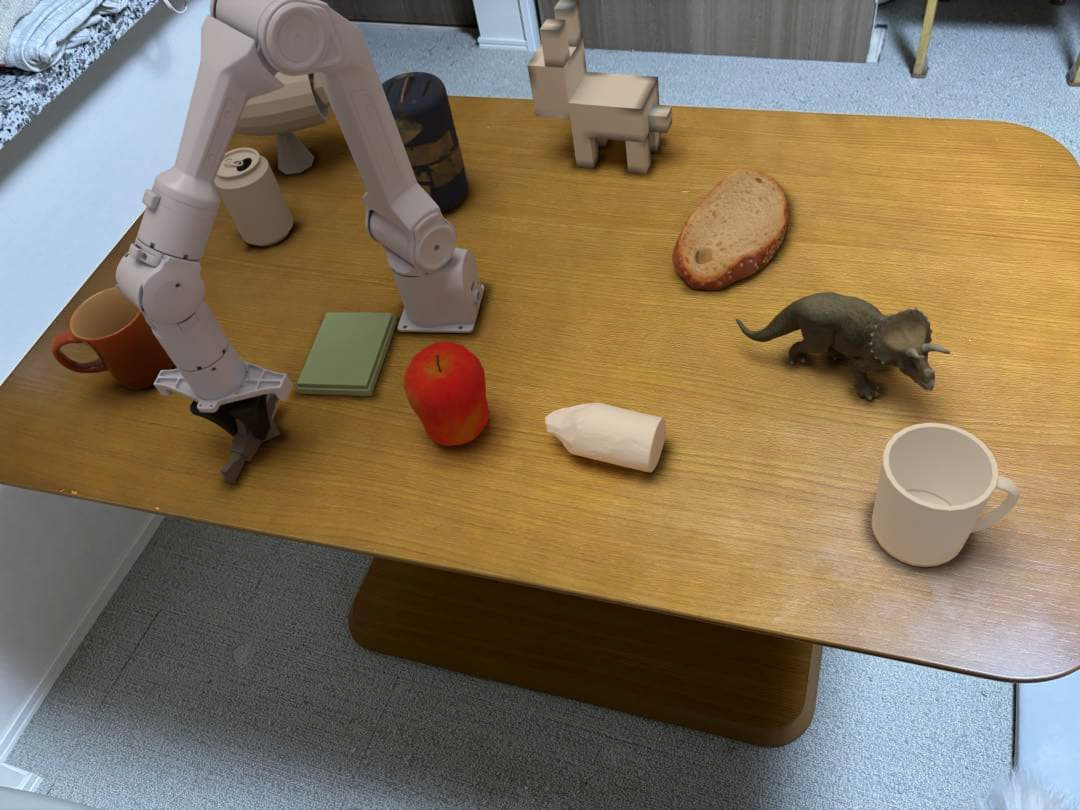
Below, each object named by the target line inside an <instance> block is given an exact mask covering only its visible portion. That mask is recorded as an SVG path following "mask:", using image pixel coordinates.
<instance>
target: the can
mask: <svg viewBox="0 0 1080 810" xmlns="http://www.w3.org/2000/svg"><path fill="white" fill-rule="evenodd" d="M214 184H215V186H216V189H217V191H218V193H219V195H220V198H221V201H223V204H224V205H225V208H226V209H227V211H228V213H229V215H230V217H231V219H232V221H233V223H234V225H235V227H236V229H237V231H238V233H239V235H240V237H241V238H242V240H243V241H244V242H246V243H247V244H249V245H255V246H259V247H267V246H272V245H275V244H277V243H279V242H281V241H282V240H284V239H285V238H286V237H287V236H288V234H290V230H292V228H293V225H294V223H295V221H294V216H293V214H292V212H291V210H290V208H289V205H288V203H287V201H286V198H285V196H284V194H283V192H282V190H281V187H280V185H279V183H278V180H277V178H276V176H275V173H274V172H273V170H272V167H271V165H270V162H269V161H268V159H267V158H266V157H265V156H263V155H261V154H260V153H259V151H258V150H256V149H254V148H252V147H237V148H234V149H231V150H229V151H226V153H225V155H224V158H223V160H222V162H221V165H220V167H219V170H218V172H217V174H216V177H215V179H214Z"/></svg>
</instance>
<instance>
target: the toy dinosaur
mask: <svg viewBox="0 0 1080 810" xmlns="http://www.w3.org/2000/svg"><path fill="white" fill-rule="evenodd" d="M735 322H736V324H737V325H738V327H739V329H740V331H741V332H742V333H743V335H744V336H746V337H747V338H749V339H750V340H752V341H754V342H759V343H766V342H767V343H768V342H771V341H773V340H774V339H778V338H780V337H784V336H787V335H789V334H791V333H794V332H797V331H799V330H800V333H801V337H802V339H801V341H800V340H799V341H796V342H795V343H793V344H792V345H791V346H790V348H789V349H788V362H789V364H790V365H791V366H794V365H795V363H796V362H799V363H803V364H805V363H806V362H807V361H806V358H805V357H807V356H808V357H809V355H810V354H811V355H822V354H824V353H825V352H826V354H827V356H828V357H829V358H831V359H833V360H834V361H836V360H837V359H843V360H845V359H846V360H847V359H848V358H852V359H853V362H851V363H850V364H849V365H848V371H849V372H850V373H851V375H852V376H853V378H854V380H855V381H856V383H857V385H858V387H857V390H856V394H858V396H859V398H863V397H865V399H867V400H868V401H871V400H873V397H875V398H877V397H879V396H880V393H879V392H878V390H880V387H879V386H877V385H875V384H874V383H871V381H870V378H869V375H868V373H873V372H875V371H878V370H879V371H880V370H882V369H885V368H886V367H887V366H893V367H895V368H897V369H898V370H899V372H900V373H901V374H903V375H905V376H906V377H909V378H910V379H911V380H912V381H913V383H914V384H917V385H918V386H919V387H920V388H921V389H923V390H924V391H926V392H928V391H929V392H932V391H933V390H934V388H935V384H936V382H935V381H936V373H935V370H934V369H933V368H932V367H931V366H930V364H929V353H931V352H935V353H942V354H945V355H950V354H952V352H951V350H949V349H947V348H945V347H944V346H942V345H940V344H937V343H933V342H932V341H933V339H932V333H933V329H932V328H931V322H930V321H928V315H925V314H924V311H923V310H918V308H917V307H915V308H913V309H912V308H910V307H908V308H906V309H905V310H899V311H898V312H897V313H889V314H888V315H887V314H883V313H882V312H881V310H879V309H878V308H877V307H876V306H875V305H873V304H872V303H870V302H868V301H866V300H865V299H862V298H859V297H856V296H849V295H844V294H840V293H837V292H832V291H824V292H823V291H822V292H817V293H813V294H810V295H806V296H803V297H802V298H799V299H796V300H794V301H792V302H791V303H790V304H788V305H786V307H784V308H783V309H782V310H780V311H779V312H778V313H777V314H776V315H775V316H774V317H773V318H772V319H771V321H770V322H769V323H768V324H767V325H766V326H765V327H763V328H762V329H760V330H759V329H758V330H750V329H749V328H748V327H747V326H746V325H745V324H744V323H743V321H742V320H740V319H739V318H735Z"/></svg>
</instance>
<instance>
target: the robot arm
mask: <svg viewBox="0 0 1080 810" xmlns="http://www.w3.org/2000/svg"><path fill="white" fill-rule="evenodd" d="M278 72H280V73H282V74H285V75H289V76H300V75H307V74H312V73H317V74H318V76H319V79H320V81H321V83H322V86H323V88H324V90H325V93H326V95H327V97H328V100H329V102H330V108H331V109H332V112H333V114H334V117H335V119H336V121H337V123H338V125H339V128H340V130H341V133H342V136H343V137H344V140H345V142H346V144H347V147H348V149H349V151H350V155H351V156H352V159H353V162H354V163H355V165H356V168H357V171H358V173H359V176H360V178H361V180H362V182H363V185H364V187H365V190H366V191H365V193H364V194H363V195H362V197H361V202H362V204H363V207H364V210H365V220H364V225H365V229H366V232H367V235H368V236H369V238H371V239H372V240H373V241H375V242H376V243H379V244H381V245H382V248H383V250H384V253H385V254H386V255H385V256H386V261H387V264H388V267H389V269H390V271H391V274H392V277H393V280H394V283H395V286H396V289H397V292H398V294H399V297H400V300H401V302H402V305H403V310H402V313H401V315H400V318H399V321H398V323H397V326H396V328H397V331H398V332H399V333H451V334H453V333H455V334H456V333H457V334H458V333H459V334H470V333H472V332H473V331H474V328H475V325H476V321H477V318H478V314H479V311H480V307H481V304H482V299H483V296H484V293H485V286H484V285H483V284H482V282H481V277H480V274H479V271H478V266H477V263H476V259H475V256H474V253H473V251H472V250H471V249H466V248H460V247H457V242H458V236H457V230H456V229H455V226H454V225H453V224H452V223H451V222H450V221H449V220H447V219H446V218H445V217H444V216H443V212H441V211H440V208H439V206H438V205H437V204H436V203H435V202H434V200H433V199H432V198H431V197H430V196H429V195H428V194H427V193H426V192H425V191H424V190H423V188H422V187H421V186H420V185H419V184H418V183H417V181H416V178H415V175H414V172H413V170H412V167H411V164H410V161H409V159H408V156H407V153H406V150H405V148H404V145H403V142H402V139H401V137H400V134H399V131H398V128H397V126H396V123H395V120H394V117H393V115H392V112H391V109H390V106H389V104H388V101H387V98H386V95H385V93H384V90H383V87H382V84H383V83H382V82H381V78H380V75H379V73H378V71H377V68H376V66H375V62H374V60H373V57H372V54H371V51H370V49H369V46H368V43H367V40H366V38H365V35H364V33H363V31H362V30H361V28H360V27H358V26H357V25H355V24H354V23H353V22H352V21H350V20H349V19H347V18H345V17H344V16H342V15H341V14H340V13H338V12H337V11H336V10H334V9H333V8H331V7H330V6H329V4H328V3H327V2H325V1H323V0H210V4H209V14H206V16H205V18H204V21H203V22H202V25H201V27H200V62H199V66H198V70H197V74H196V79H195V82H194V86H193V90H192V94H191V98H190V102H189V107H188V110H187V115H186V118H185V122H184V127H183V130H182V134H181V138H180V143H179V146H178V150H177V153H176V157H175V162H174V165H173V166H171V167H170V168H168V169H166V170H164V171H162V172H160V173H159V174H157V175H156V176H155V178H154V182H153V184H152V187H151V189H150V188H149V189H148V188H147V189H145V191H144V194H143V197H142V199H141V203H142V204H144V205H145V209H144V212H143V216H142V219H141V222H140V225H139V228H138V231H137V235H136V237H135V241H134V243H130V245H129V249H128V251H127V252H126V253H125V254H124V255H123V256H122V257H121V259H120V261H119V263H118V265H117V266H116V271H115V281H116V282H117V284H115V287H116V289H117V290H118V291H119V292H120V293H121V294H122V295H124V296H125V297H127V298H128V299H129V300H130V301H131V302H132V303H134V304H135V305H136V306H137V307H138V308H139V309H140V311H141V312H142V314H143V315H144V317H145V320H146V322H147V323H148V325H149V326H150V327H151V329H152V332H153V334H154V335H155V337H156V338H157V340H158V341H159V342H160V344H161V345H162V347H163V348H164V350H165V351H166V353H167V354H168V356H169V357H170V359H171V360H172V362H173V363H174V364H173V366H175V367H176V368H174V369H173V368H172V369H171V370H161V371H160V373H159V375H158V377H157V378H156V380H155V382H154V385H153V386H154V387H155V388H156V390H157V391H158V392H159V394H160V395H161V396H163V397H164V396H165V397H166V396H167V397H169V396H171V395H172V394H173V393H175V394H177V395H179V396H181V397H184V398H187V399H190V400H192V401H191V403H190V406H189V410H190V413H191V414H192V415H193V416H197V417H200V418H203V419H206V420H207V421H210V422H211V423H213V424H215V425H216V426H218V427H220V428H221V429H222V430H224V431H225V432H226V433H228V434H229V435H231V436H232V437H233V438H234V436H235V435H236V433H237V430H238V427H237V423H236V418H238V419H239V420H241V421H242V422H243V423H244V424H245V425H246V426H247V427H248V428H249V429H250V431H251V432H252V434H253V435H254V436H255V437H256V438H257V439H258V440H265V439H266V437H267V434H268V432H269V430H270V427H271V426H270V422H269V418H268V413H267V403H266V399H267V394H276V396H277V398H278V399H280V400H288V398H289V396H290V394H291V391H292V389H293V386H294V385H293V383H292V381H291V379H290V377H289V376H288V373H284V372H277V371H273V370H270V369H268V368H264V367H262V366H259V365H257V364H254V363H252V362H249V361H246V360H244V359H242V358H241V357H240V355H239V354H238V352H237V350H236V349H235V347H234V346H233V344H232V343H231V340H230V338H229V337H228V336H227V334H226V332H225V330H224V329H223V327H222V325H221V324H220V322H219V320H218V319H217V317H216V316H215V313H214V311H213V310H212V309H211V307H210V305H209V304H208V302H206V301H205V299H204V298H205V295H206V286H205V283H204V281H203V277H202V275H201V272H202V269H203V268H202V266H201V262H202V260H203V257H204V254H205V251H206V248H207V245H208V243H209V239H210V236H211V233H212V230H213V228H214V225H215V221H216V218H217V216H218V213H219V210H220V207H221V204H222V198H221V196H220V194H219V192H218V190H217V188H216V186H215V184H214V179H215V177H216V174H217V172H218V170H219V167H220V165H221V162H222V160H223V158H224V155H225V153H227V152H228V151H227V150H228V148H229V146H230V143H231V141H232V139H233V136H234V134H235V132H234V131H235V129H236V127H237V124H238V122H239V120H240V117H241V115H242V112H243V110H244V108H245V105H246V103H247V101H248V100H250V99H252V98H255V97H258V96H261V95H264V94H267V93H270V92H273V91H276V90H278V89H281V88H282V87H283V86H284V84H283V83H282V82H281V81H279V80H278V79H277V78H276V77H275V75H276V74H277V73H278Z"/></svg>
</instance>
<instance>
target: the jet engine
mask: <svg viewBox="0 0 1080 810" xmlns="http://www.w3.org/2000/svg"><path fill="white" fill-rule="evenodd" d="M275 77H276V78H277V79H278V80H279V81H281V82H282V83H283V84H284V86H283V87H282V88H281V89H278V90H276V91H273V92H270V93H267V94H264V95H261V96H258V97H255V98H252V99H250V100H248V101H247V103H246V105H245V108H244V110H243V112H242V115H241V117H240V120H239V122H238V124H237V127H236V129H235V131H234V133H235V134H238V135H243V136H249V137H250V136H251V137H253V136H254V137H268V136H271V137H272V136H276V150H277V169H278V170H279V171H280V172H281V173H282V174H285V175H292V174H301V173H302V172H303V171H305V170H307V169H309V168H311V167H312V166H313V162H314V159H315V156H314V155H313V154H312V152H311V151H310V150H309V149H308V148H307V147H306V146H305V145H304V143H302V141H301V140H300V139H299V137H297V136H296V135H295V132H298V131H299V132H300V131H302V130H303V131H304V130H307V129H311V128H314V127H317V126H320V125H323V124H326V123H329V122H330V119H331V105H330V102H329V100H328V97H327V95H326V93H325V90H324V88H323V86H322V83H321V81H320V79H319V76H318V74H317V73H312V74H307V75H300V76H289V75H285V74H282V73H280V72H278V73H277V74H276V75H275Z"/></svg>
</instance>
